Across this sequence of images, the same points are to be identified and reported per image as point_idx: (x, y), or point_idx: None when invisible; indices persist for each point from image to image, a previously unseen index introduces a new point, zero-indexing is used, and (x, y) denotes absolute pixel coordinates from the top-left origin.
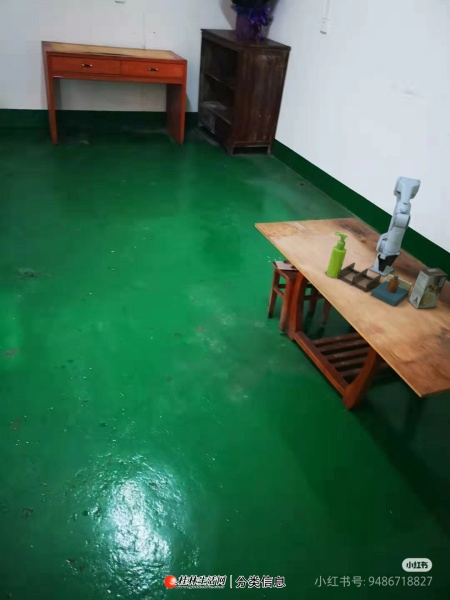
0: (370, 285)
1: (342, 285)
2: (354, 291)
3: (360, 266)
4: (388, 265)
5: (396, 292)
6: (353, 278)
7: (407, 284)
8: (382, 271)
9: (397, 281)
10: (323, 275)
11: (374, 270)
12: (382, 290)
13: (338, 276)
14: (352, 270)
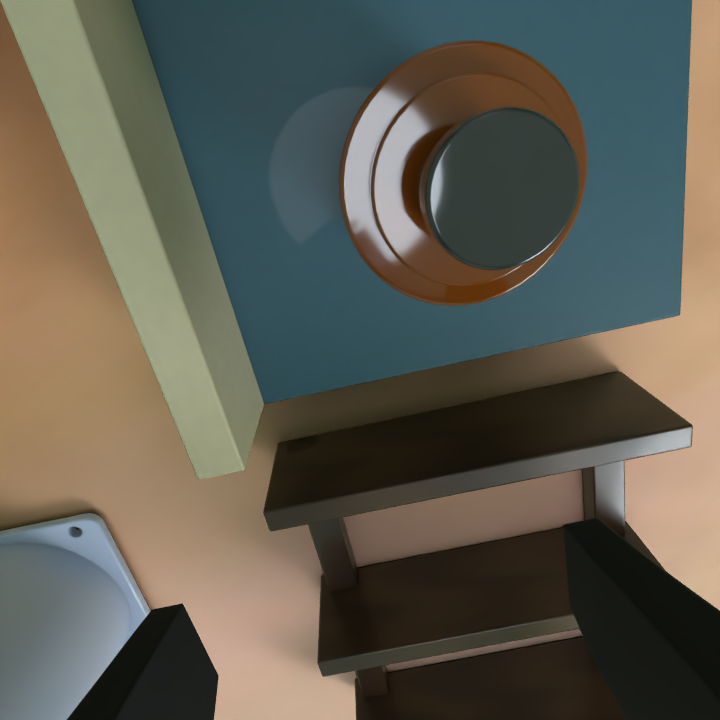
0: (556, 416)
1: (703, 548)
2: (714, 429)
3: (218, 700)
4: (198, 652)
5: None
6: None
7: (97, 30)
8: (614, 534)
9: (511, 76)
10: None
11: (143, 617)
12: None
13: None
14: (387, 682)
